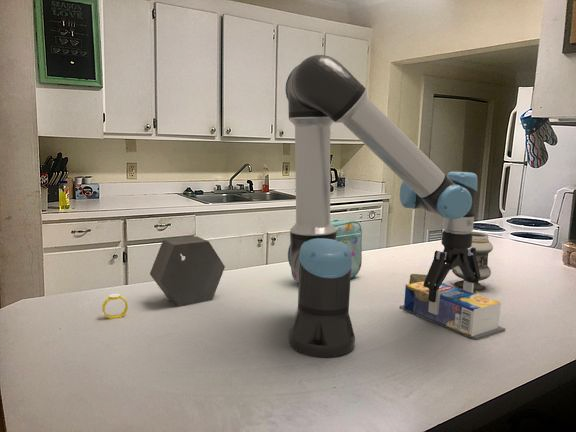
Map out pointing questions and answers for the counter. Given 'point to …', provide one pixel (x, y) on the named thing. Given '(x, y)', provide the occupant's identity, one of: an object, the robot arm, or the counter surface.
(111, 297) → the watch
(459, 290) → the beverage box
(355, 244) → the lunch box
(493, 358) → the counter surface
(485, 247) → the apothecary jar
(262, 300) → the counter surface
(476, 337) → the mat
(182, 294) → the planter
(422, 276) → the stone block
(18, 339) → the counter surface
